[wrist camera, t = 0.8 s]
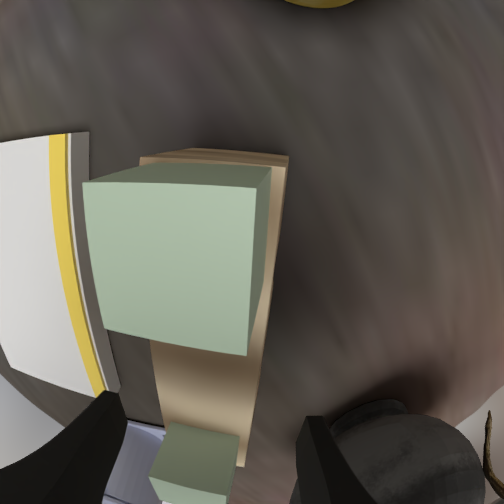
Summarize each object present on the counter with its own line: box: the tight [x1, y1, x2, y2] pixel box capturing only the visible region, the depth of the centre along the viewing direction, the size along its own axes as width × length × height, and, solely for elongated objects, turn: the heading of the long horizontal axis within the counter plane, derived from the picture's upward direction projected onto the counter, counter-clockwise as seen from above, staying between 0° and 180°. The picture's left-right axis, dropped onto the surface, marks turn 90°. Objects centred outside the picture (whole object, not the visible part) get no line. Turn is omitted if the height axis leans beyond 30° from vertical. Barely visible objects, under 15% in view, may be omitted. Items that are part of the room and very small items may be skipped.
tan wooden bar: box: [140, 148, 289, 467], centre depth 16 cm, size 18×5×6 cm, turn 175°
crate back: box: [148, 422, 240, 504], centre depth 14 cm, size 4×4×4 cm
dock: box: [0, 132, 121, 398], centre depth 17 cm, size 20×12×2 cm, turn 175°
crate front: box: [82, 163, 272, 356], centre depth 8 cm, size 4×4×4 cm
